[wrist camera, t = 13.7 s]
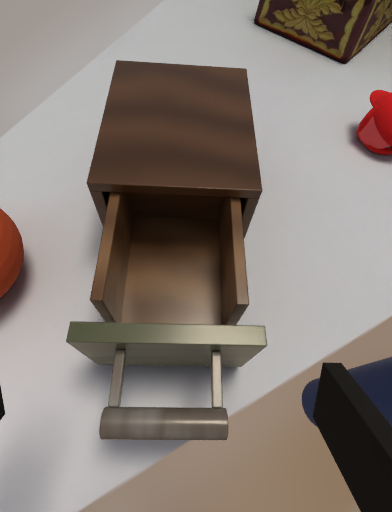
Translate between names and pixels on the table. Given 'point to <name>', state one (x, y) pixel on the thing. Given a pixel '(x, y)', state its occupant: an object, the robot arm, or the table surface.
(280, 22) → the decorative box
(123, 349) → the drawer
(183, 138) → the cabinet
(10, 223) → the tomato
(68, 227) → the table surface
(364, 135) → the cap
